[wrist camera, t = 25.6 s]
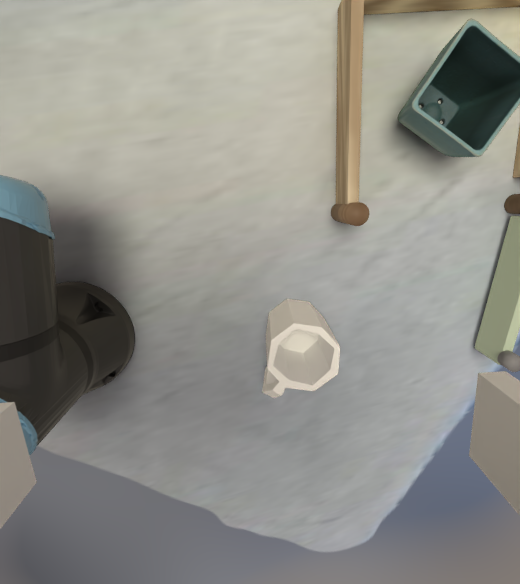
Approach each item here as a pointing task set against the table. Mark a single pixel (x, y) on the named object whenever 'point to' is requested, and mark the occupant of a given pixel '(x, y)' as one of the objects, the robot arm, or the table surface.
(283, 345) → the mug
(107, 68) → the table surface
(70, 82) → the table surface
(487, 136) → the flower pot
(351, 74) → the wooden u-shaped enclosure
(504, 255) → the gate
